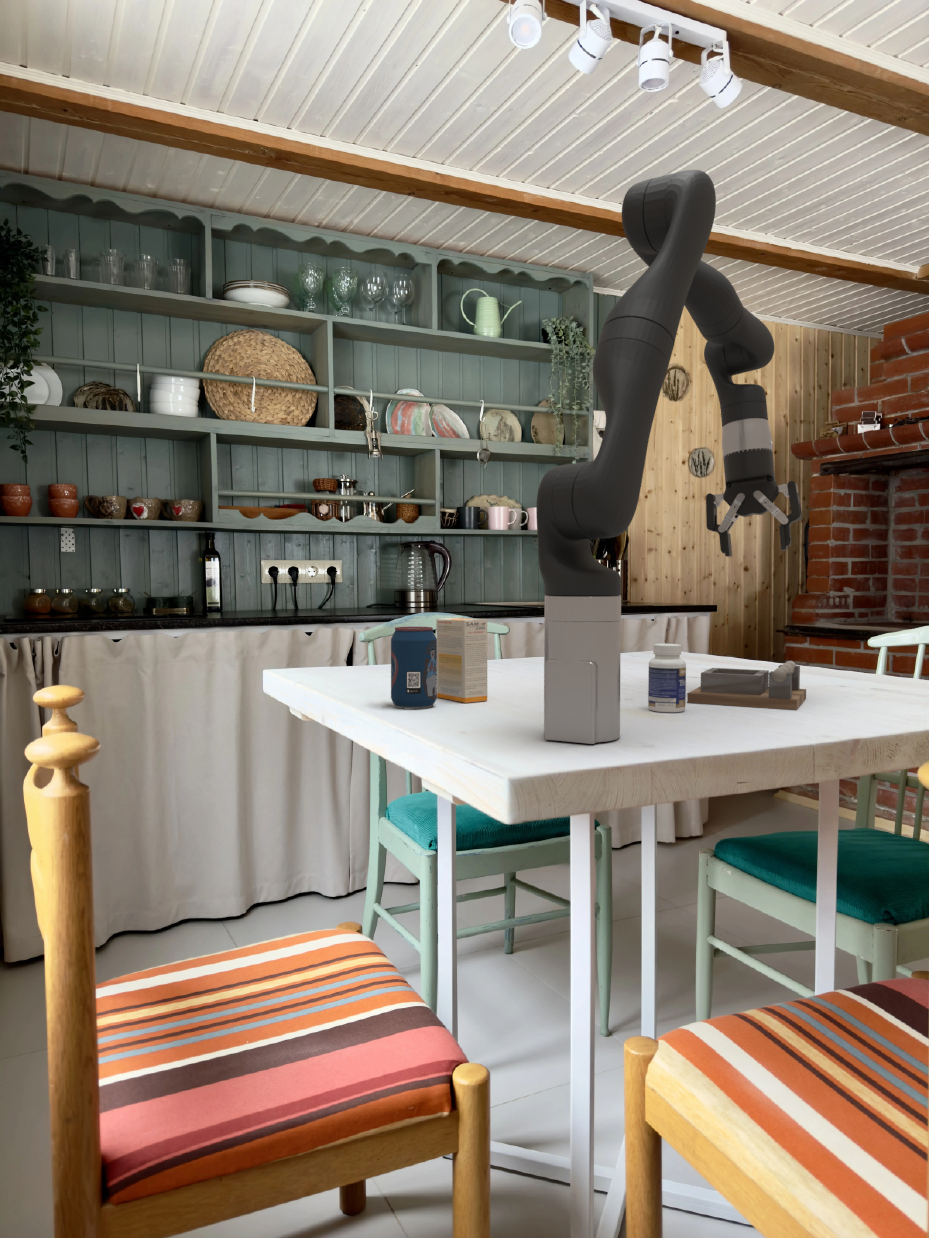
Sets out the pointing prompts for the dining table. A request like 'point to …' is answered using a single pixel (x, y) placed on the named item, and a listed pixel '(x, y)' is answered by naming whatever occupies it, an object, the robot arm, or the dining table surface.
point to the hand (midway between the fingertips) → (756, 553)
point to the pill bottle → (667, 679)
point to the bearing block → (751, 688)
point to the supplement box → (462, 659)
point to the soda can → (413, 667)
